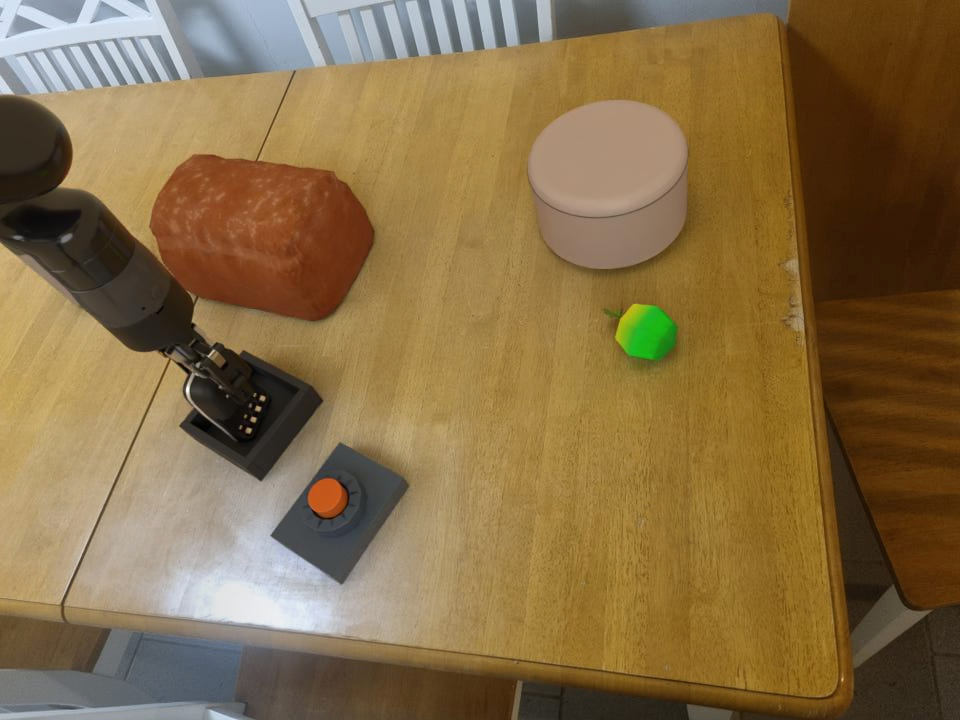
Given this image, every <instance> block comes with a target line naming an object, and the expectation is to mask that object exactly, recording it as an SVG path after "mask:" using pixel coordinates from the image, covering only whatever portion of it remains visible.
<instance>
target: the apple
mask: <svg viewBox="0 0 960 720" xmlns="http://www.w3.org/2000/svg"><path fill="white" fill-rule="evenodd" d="M601 310H602V311H603V312H604V314H605V315H606V316H609V317H608V318H609V319H610V318H615V319H618V324H617V328H616V333H615V336H614V339H615V341H617V343H618V344H619V345H620V347H621V348H622V349H623V351H624V352H625V353H626V355H628V356H630V357H633V358H637V359H643V360H650V361H657V362H660V361H661V360H662V359H663V358H664V357H666V356H667V354H669V353H670V352H671V351H672V350H673V349H674V348H675V345H676V342H677V341H676V340H677V336H678V332H679V326H678V325H677V323H676V322H675V321H674V320H673V318H671V316H670V315H669V314H668V313H667V312H666V311H665V310H664V309H662V308H660V307H659V306H657V305H651V304H640V303H633V304H632V305H631V306H630V307H629V308H628V309H627V310H626V311H625V312H624V313H623V308H621V309H619V310H618V311H616V312H614V311H612V310H611V309H610V308H601ZM621 314H623V315H621ZM620 315H621V317H620Z"/></svg>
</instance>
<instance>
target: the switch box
mask: <svg viewBox="0 0 960 720" xmlns="http://www.w3.org/2000/svg"><path fill="white" fill-rule="evenodd" d="M326 478H331V479H334V480H336V481H338V482H339V483H340V484H341V485H342V486H343V487H344V489H345V490H346V492H347V495H348V501H347V505H346V507H345V508H344V510H343V511H342V512H341V513H340V514H338V515H337V516H335V517H332V518H324V517H321V516H320V515H318V514H317V513H316V512H315V511H314V510H313V509H312V508H311V507H310V505H309V503H308V495H309V492H310V490H311V488H312V487H313V485H314V484H315V483H317V482H318V481H320V480H322V479H326ZM409 487H410V484H409V483H408V482H407V480H406V479H405V477H404V476H402V475H400V474H398V473H397V472H395V471H393V470H392V469H389V468H388V467H386V466H384V465H382V464H381V463H379V462H377V461H375V460H374V459H372V458H370V457H368V456H366V455H365V454H362V453H361V452H359V451H358V450H355V449H354V448H352V447H350V446H348V445H346V444H344V443H343V442H341V441H339V442H338V444H337V445H336V446H335V448H334V449H333V450H332V452H331V453H330V454H329V456H328V457H327V459H325V460H324V463H323V464H322V465H321V467H320V468H319V469H318V470H317V472H316V473H315V475H314V476H313V477H312V479H311V480H310V481H309V483H308V484H307V485H306V487H305V488H304V489H303V491H302V492H301V493H300V495H299V496H298V498H297V499H296V500H295V501H294V503H293V504H292V505H291V507H290V508H289V510H288V511H287V512H286V513H285V515H284V516H283V518H282V519H281V520H280V521H279V523H278V524H277V526H276V527H275V529H274V530H273V531H272V532H271V533H270V535H269V536H270V538H272V539H273V540H275V541H276V542H277V543H279V544H280V545H282V546H283V547H284V548H286V549H288V550H289V551H291V552H292V553H294V554H295V555H297V556H298V557H299V558H301V559H302V560H304V561H305V562H307V563H308V564H310V565H311V566H313V567H314V568H316V569H317V570H318V571H320V572H322V573H323V574H324V575H326V576H328V577H329V578H330V579H332V580H333V581H334V582H336V583H338V584H339V585H341V586H342V585H343V584H344V582H345V581H346V580H347V578H348V576H349V575H350V573H351V572H352V570H353V569H354V567H355V566H356V564H357V563H358V562H359V560H360V559H361V557H362V556H363V554H364V553H365V551H366V550H367V549H368V547H369V545H370V544H371V543H372V542H373V540H374V538H375V537H376V536H377V534H378V532H379V531H380V529H381V528H382V526H383V525H384V523H385V522H386V521H387V519H388V517H390V515H391V513H392V511H393V510H395V507H396V506H397V505H398V503H399V502H400V500H401V499H402V497H403V496H404V494H405V493H406V492H407V490H408V489H409Z"/></svg>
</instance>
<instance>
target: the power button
mask: <svg viewBox="0 0 960 720" xmlns="http://www.w3.org/2000/svg"><path fill="white" fill-rule="evenodd" d="M347 501H348V495H347V492H346V490H345V489H344V487H343V486H342V485H341V484H340V483H339V482H338V481H336V480H334V479H331V478H326V479H322V480H320V481H318V482H317V483H315V484H314V485H313V487H312V488H311V490H310V492H309V495H308V503H309V505H310V507H311V508H312V509H313V510H314V511H315V512H316V513H317V514H318V515H320V516H321V517H324V518H332V517H335V516H337V515H338V514H340V513H341V512H342V511H343V510H344V508H345V507H346V505H347Z"/></svg>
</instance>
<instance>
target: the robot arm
mask: <svg viewBox="0 0 960 720" xmlns="http://www.w3.org/2000/svg"><path fill="white" fill-rule="evenodd" d="M73 159H74V149H73V142H72V139H71V136H70V134H69V131H68V129H67V127H66V126H65V124H64V123H63V122H62V120H61V119H60V118H59V117H58V116H57V115H56V114H55V113H54V112H53V111H52V110H51V109H49V108H48V107H46V105H44V104H42V103H41V102H39V101H37V100H35V99H32V98H30V97H27V96H24V95H19V94H13V93H3V94H0V241H1V242H3V243H4V244H6V245H9V246H11V247H13V248H15V249H17V250H19V251H21V252H23V253H25V254H27V255H29V256H30V257H32V258H33V259H34V260H35V261H36V262H37V263H38V264H39V265H40V266H41V267H42V268H43V269H44V270H45V271H47V272H48V273H49V274H50V275H51V276H52V277H53V278H54V279H55V280H57V281H58V282H59V283H60V284H61V285H62V286H63V287H64V288H65V289H66V290H67V291H68V292H69V293H70V294H71V295H72V297H73V298H74V299H75V300H76V302H77V303H78V304H79V305H80V306H81V307H82V308H83V309H82V308H81V307H80V308H81V309H82V310H84V311H85V312H87V314H89V315H90V316H91V317H92V318H93V319H94V320H95V321H97V322H98V323H99V324H100V325H101V326H102V327H103V328H104V329H106V330H107V331H108V332H109V333H110V334H111V335H112V336H113V337H114V338H116V339H117V340H118V341H119V342H120V343H121V344H123V345H124V346H125V347H126V348H127V349H129V350H130V351H133V352H137V353H150V352H156V353H157V354H158V355H160V356H161V357H163V358H165V359H168V360H171V362H173V363H175V365H176V366H177V367H178V368H179V369H180V370H182V371H183V372H184V373H185V374H186V376H188V373H189V371H192V372H193V373H194V374H195V375H197V376H198V377H199V378H209V379H210V380H211V381H213V382H214V383H215V384H216V385H218V387H219V388H220V389H221V390H224V391H225V392H226V393H227V394H228V395H229V396H230V397H231V398H232V399H233V400H234V401H235V402H236V403H238V404H239V405H244V404H245V403H246V402H247V401H248V400H249V398H250V397H251V396H252V395H253V393H254V388H253V387H252V386H251V385H250V384H249V383H248V382H247V381H246V380H247V379H248V378H249V377H250V376H251V375H250V374H249V372H248V371H247V370H245V368H244V367H243V366H242V365H241V364H240V363H239V362H238V361H237V360H236V359H235V358H234V357H233V356H232V354H231V353H230V352H229V351H228V350H227V349H228V348H227V347H226V346H225V345H224V343H222V342H219V341H215V342H214V341H213V340H212V339H211V338H210V337H208V336H207V334H206V331H205V330H204V329H203V328H201V327H200V326H199V325H198V324H196V323H195V322H193V317H194V313H195V304H194V300H193V298H192V296H191V294H190V292H189V291H187V290H185V289H184V287H183V286H182V285H181V284H180V283H179V282H178V281H177V280H176V278H175V277H174V276H173V275H172V274H171V272H170V271H169V270H168V269H167V267H166V266H165V265H164V264H163V262H161V261H160V260H159V259H158V257H157V256H156V255H155V254H154V253H153V252H152V251H151V250H150V249H149V247H147V246H146V245H145V244H144V243H143V242H141V241H140V240H139V239H137V238H136V237H135V236H134V235H133V234H132V233H131V232H130V231H129V230H128V228H127V227H125V225H124V224H123V223H122V222H121V221H120V220H119V218H118V217H117V216H116V215H115V214H114V213H113V212H112V211H111V210H110V208H109V207H108V206H107V205H106V204H105V203H103V201H102V200H101V199H100V198H99V197H97V196H96V195H95V194H93V193H91V192H89V191H87V190H84V189H82V188H74V187H64V186H63V187H61V186H60V185H61V184H62V183H63V182H64V181H65V179H66V178H67V176H68V175H69V173H70V170H71V168H72V164H73ZM226 348H227V349H226ZM199 362H200V363H201V364H202V365H201V366H202V367H203V368H202V369H199V368H198V367H196V366H195V364H197V363H199Z"/></svg>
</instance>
